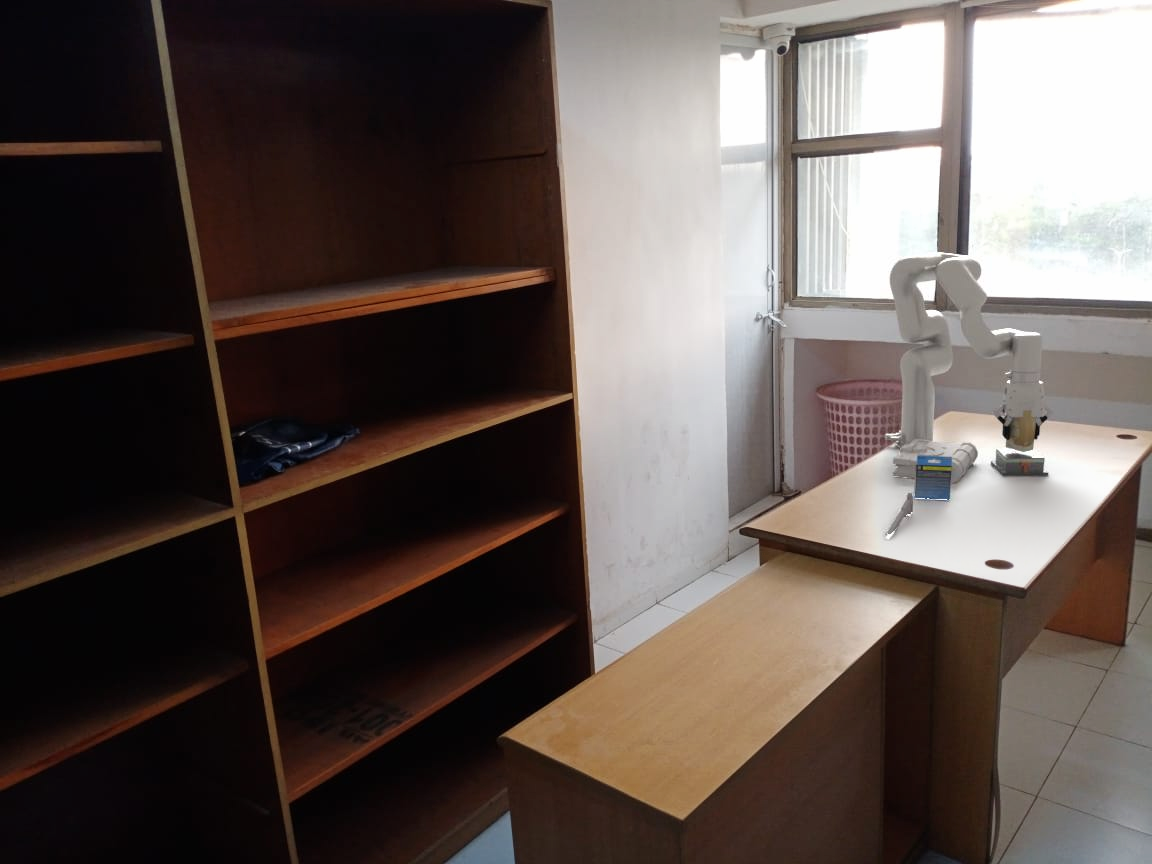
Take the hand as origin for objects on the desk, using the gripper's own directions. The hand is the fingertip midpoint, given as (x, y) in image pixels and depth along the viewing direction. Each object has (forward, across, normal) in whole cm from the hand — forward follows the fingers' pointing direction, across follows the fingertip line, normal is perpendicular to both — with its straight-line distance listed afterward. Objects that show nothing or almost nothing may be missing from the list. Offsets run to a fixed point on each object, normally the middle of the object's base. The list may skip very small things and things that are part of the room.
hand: (1020, 438), depth 263 cm
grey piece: (+9, 0, 0) cm, 9 cm away
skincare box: (+3, 0, 0) cm, 3 cm away
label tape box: (+10, -29, -25) cm, 39 cm away
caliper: (+10, -41, -46) cm, 63 cm away
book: (+10, -22, +3) cm, 24 cm away
